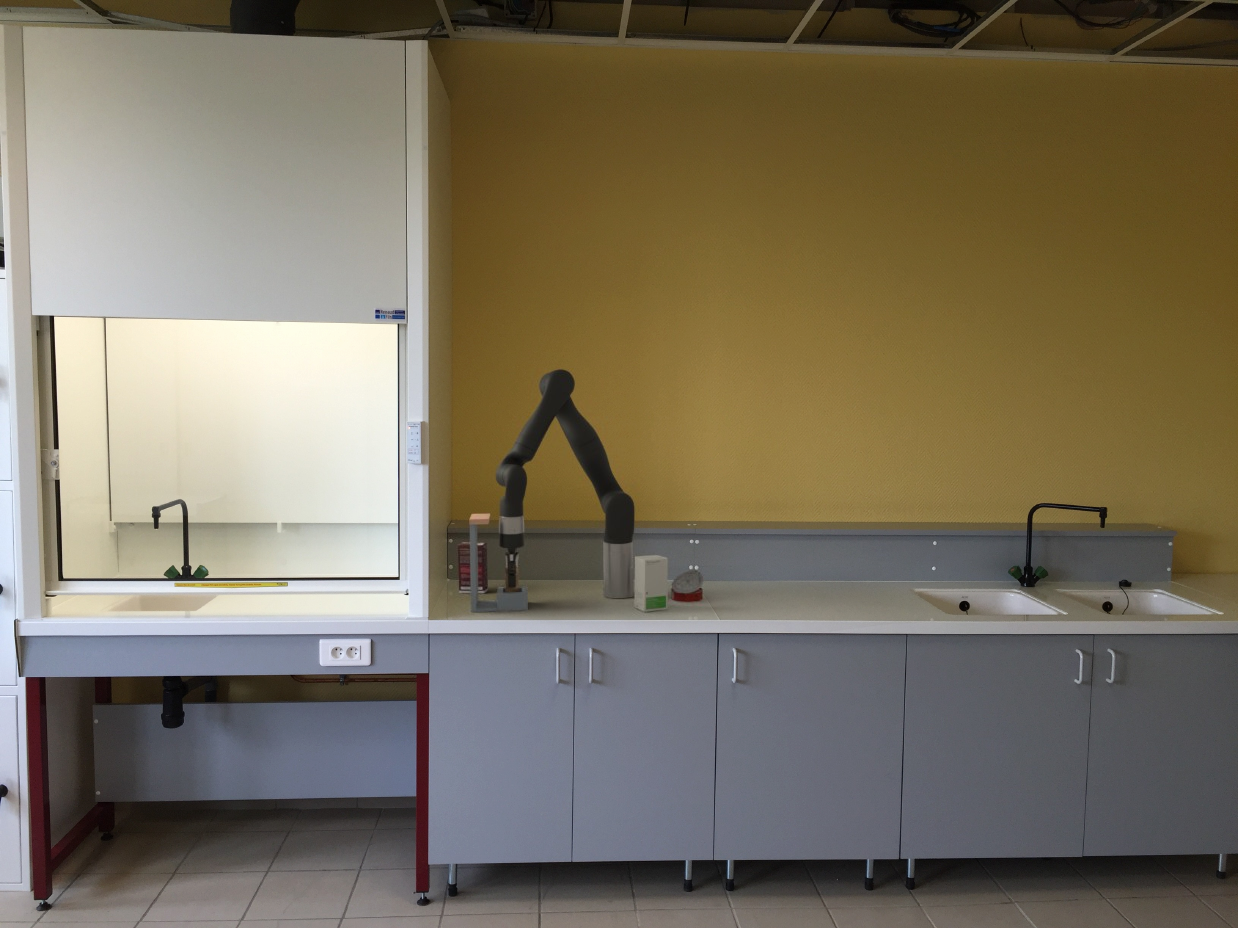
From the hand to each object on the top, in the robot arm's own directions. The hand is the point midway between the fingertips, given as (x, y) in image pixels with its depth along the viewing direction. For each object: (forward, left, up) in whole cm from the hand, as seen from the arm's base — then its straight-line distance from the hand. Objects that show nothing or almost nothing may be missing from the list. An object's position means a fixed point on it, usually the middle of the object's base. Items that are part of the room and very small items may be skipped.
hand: (512, 584), depth 247 cm
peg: (0, 0, -7) cm, 7 cm away
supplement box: (+13, -20, -7) cm, 25 cm away
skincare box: (-41, +7, -7) cm, 42 cm away
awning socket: (+4, 0, -7) cm, 8 cm away
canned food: (-54, -4, -7) cm, 55 cm away
